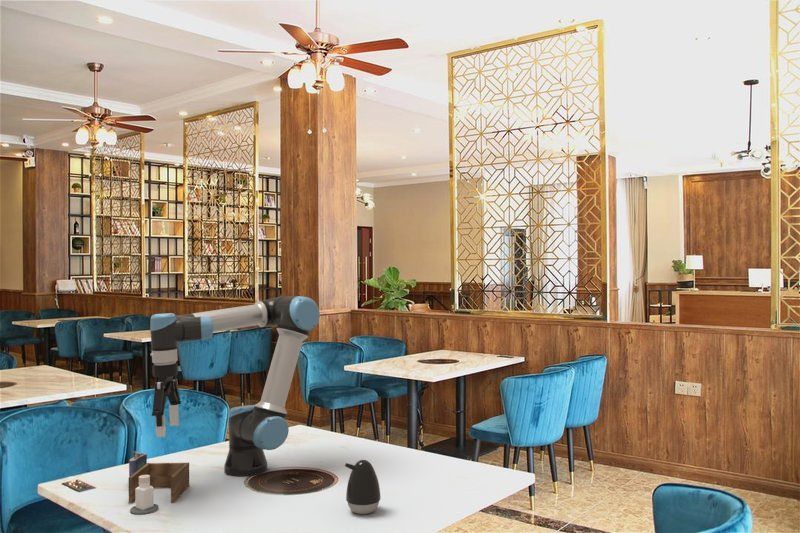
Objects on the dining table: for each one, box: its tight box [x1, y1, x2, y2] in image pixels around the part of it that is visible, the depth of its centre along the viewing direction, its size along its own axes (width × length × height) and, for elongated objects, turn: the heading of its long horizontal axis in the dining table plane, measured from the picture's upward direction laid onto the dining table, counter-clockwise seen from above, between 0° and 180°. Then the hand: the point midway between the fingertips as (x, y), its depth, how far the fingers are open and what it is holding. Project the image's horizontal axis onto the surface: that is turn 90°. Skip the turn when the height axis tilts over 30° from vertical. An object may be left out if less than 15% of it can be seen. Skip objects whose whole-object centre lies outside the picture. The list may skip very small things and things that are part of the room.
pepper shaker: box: [134, 475, 155, 510], centre depth 205 cm, size 4×4×10 cm
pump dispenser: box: [344, 459, 381, 515], centre depth 202 cm, size 10×10×15 cm
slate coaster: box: [129, 503, 159, 516], centre depth 205 cm, size 8×8×1 cm
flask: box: [128, 450, 148, 478], centre depth 232 cm, size 9×3×11 cm, turn 172°
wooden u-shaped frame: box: [128, 462, 190, 504], centre depth 219 cm, size 14×16×8 cm
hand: (167, 430), depth 213 cm, fingers open, 13 cm apart
